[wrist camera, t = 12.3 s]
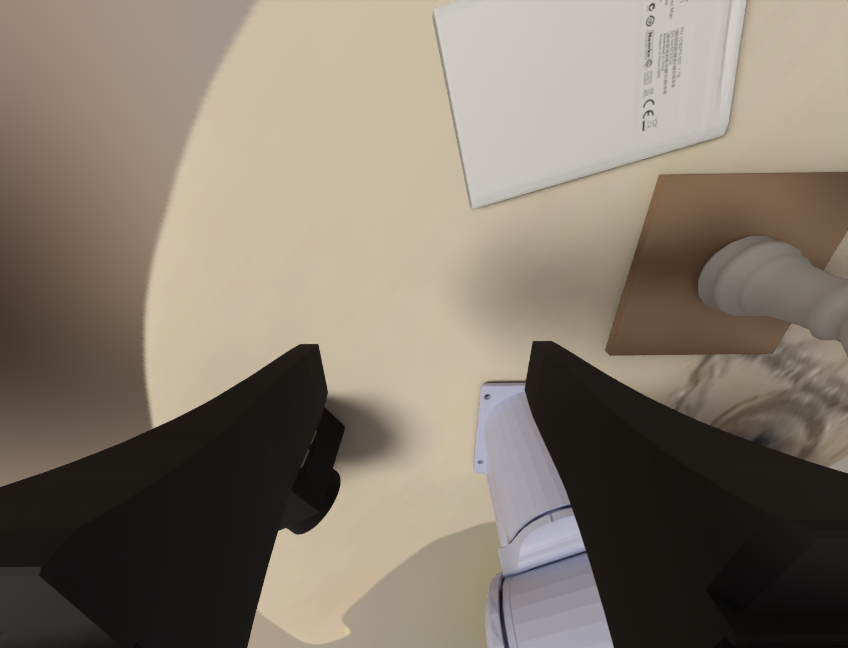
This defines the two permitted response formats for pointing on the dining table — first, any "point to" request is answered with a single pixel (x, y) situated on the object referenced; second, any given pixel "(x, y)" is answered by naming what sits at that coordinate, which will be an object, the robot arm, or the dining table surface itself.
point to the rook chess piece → (776, 287)
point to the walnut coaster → (702, 237)
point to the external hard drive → (582, 85)
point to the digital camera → (315, 479)
